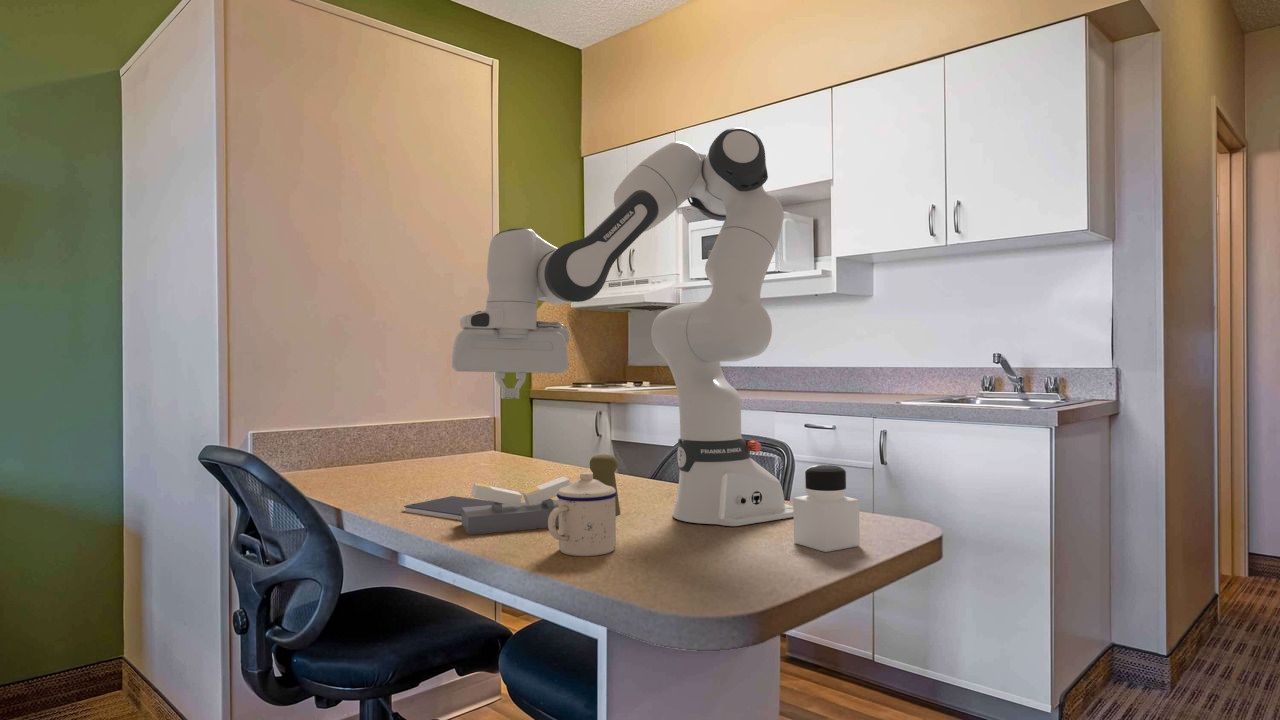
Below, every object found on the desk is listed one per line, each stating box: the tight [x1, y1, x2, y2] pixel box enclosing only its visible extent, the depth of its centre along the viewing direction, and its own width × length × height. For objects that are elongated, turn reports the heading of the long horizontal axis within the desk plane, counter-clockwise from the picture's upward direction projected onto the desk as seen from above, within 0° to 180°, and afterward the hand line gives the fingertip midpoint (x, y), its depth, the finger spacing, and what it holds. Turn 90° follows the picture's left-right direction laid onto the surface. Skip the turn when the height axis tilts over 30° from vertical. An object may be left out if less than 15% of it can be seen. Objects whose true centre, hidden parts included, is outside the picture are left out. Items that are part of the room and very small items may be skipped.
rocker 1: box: [470, 482, 523, 507], centre depth 135 cm, size 8×4×2 cm, turn 110°
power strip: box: [461, 498, 559, 536], centre depth 138 cm, size 26×9×4 cm, turn 110°
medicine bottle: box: [792, 464, 861, 553], centre depth 118 cm, size 7×7×12 cm
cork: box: [589, 453, 621, 516], centre depth 145 cm, size 6×6×11 cm
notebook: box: [403, 495, 503, 521], centre depth 150 cm, size 13×2×21 cm
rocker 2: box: [521, 476, 572, 506], centre depth 138 cm, size 8×4×2 cm, turn 110°
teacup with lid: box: [547, 472, 617, 557], centre depth 117 cm, size 12×9×12 cm
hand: (510, 398), depth 136 cm, fingers closed
